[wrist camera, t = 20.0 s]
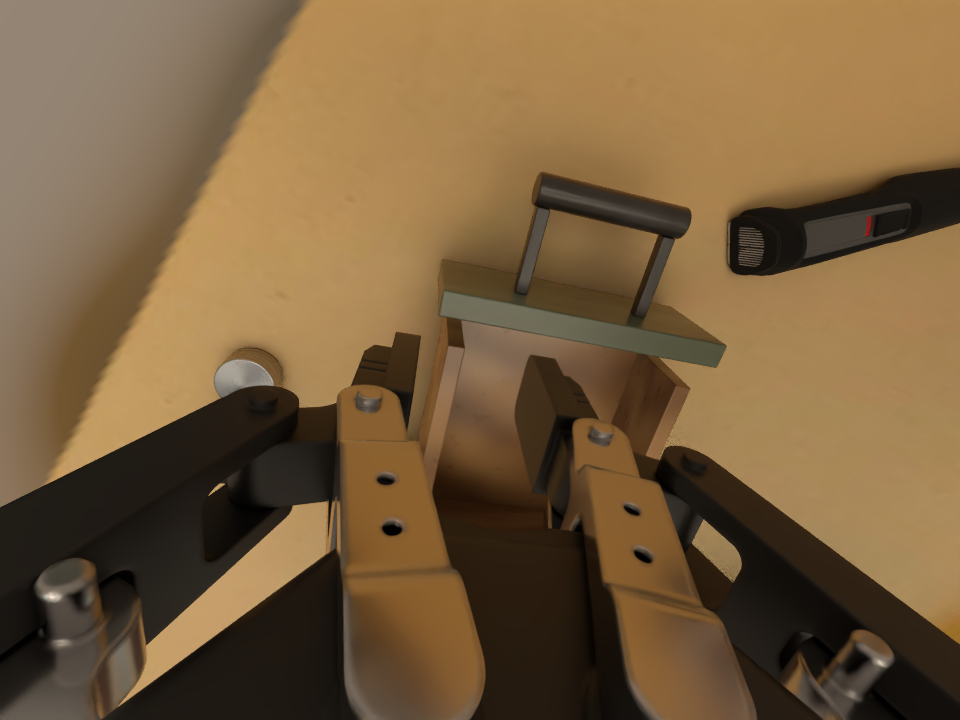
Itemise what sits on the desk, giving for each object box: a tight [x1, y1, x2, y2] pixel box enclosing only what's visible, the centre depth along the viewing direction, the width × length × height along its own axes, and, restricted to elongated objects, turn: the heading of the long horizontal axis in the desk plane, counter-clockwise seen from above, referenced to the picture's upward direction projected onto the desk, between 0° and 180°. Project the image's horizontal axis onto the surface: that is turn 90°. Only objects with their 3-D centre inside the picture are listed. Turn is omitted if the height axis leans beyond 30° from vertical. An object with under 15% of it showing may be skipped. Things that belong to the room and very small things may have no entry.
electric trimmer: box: [727, 168, 960, 276], centre depth 26 cm, size 4×16×3 cm, turn 102°
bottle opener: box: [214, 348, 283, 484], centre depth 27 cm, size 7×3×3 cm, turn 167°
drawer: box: [418, 172, 726, 532], centre depth 26 cm, size 21×13×6 cm, turn 167°
